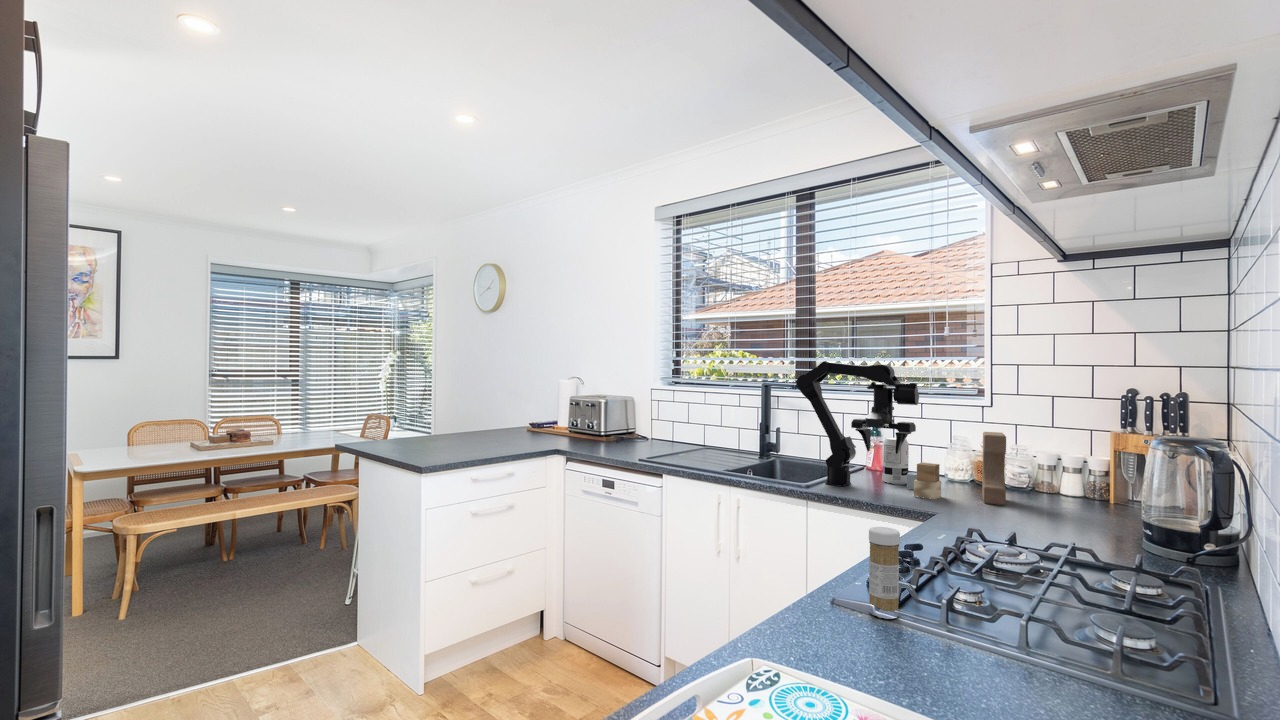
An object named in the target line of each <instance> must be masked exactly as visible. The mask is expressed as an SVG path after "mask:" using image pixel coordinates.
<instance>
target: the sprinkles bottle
mask: <svg viewBox="0 0 1280 720" xmlns="http://www.w3.org/2000/svg"><path fill="white" fill-rule="evenodd" d="M900 540H901V533H900V530H897V529H895V528H892V527H888V526H887V527H886V526H873V527H870V528H869V529H868V541H869V559H868V560H869V564H868V565H869V567H868V569H869V571H868V572H869V573H868V577H869V579H868V581H869V582H868V583H869V584H868V592H869V599H868V600H869V603H870V604H872V605H874V606H876V607H878V608H880V609H881V610H883V611H895V610H898V611H899V593H900V591H899V589H900V586H899V585H900V584H899V583H900V581H899V580H900V578H899V577H900V576H899V575H900V574H899V572H900V569H899V568H900V567H899V566H900V565H899V564H900V563H899V561H900V560H899V557H900V556H899V549H900V548H899V547H900V543H901V541H900Z"/></svg>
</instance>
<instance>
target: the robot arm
mask: <svg viewBox="0 0 1280 720" xmlns="http://www.w3.org/2000/svg"><path fill="white" fill-rule="evenodd" d="M830 374H834V375H836V374H837V375H842V376H852V377H853V376H854V377H861V378H864V379H867V380H870V381H872V382H871V383H870V384H868V386H867V387H866V389H867V390H873V406H872V407H871V411H870V413H868V414H867V415H866V416H865V418H853V419H852V420H851V425H850V426H851V429H855V431H856V432H858V433H859V434H860V436H861V437H862V440H863V442H864V445H865V446H864V447H865V449H866V451H868V452H870V451H871V437H872V432H871V431H872V430H871V429H872V428H874V429H890V430H897V432H894V433H895V438H896V454H898V453H899V451H900V449H901V446H902V444H903V442H904V440H905V439H907V437H908V435H911V434H912V433H914V432H916V429H917V426H916V424H915V422H914V421H913V422H910V421H899V422H895V420H894V419H893V414H894V413H893V411H894V410H895V407H894V406H893V405H894V404H893V403H894V402H896V403H897V404H898V405H908V406H918V405H919V400H920V393H919V388H918V383H917V382H916V383H901V381H900V380H899V379H898V377H897V376H896V375H895V370H894V368H893V367H892V366H891V365H889V364H871V365H869V364H867V365H857V364H849V363H839V362H831V361H824V360H823V361H821V362H820V363H819V364H818V365H817V366H816V367H814V368H812V369H811V370H810V371H807V373H805V374H800V376H798V377H797V380H796V387H797V388H798V390H799V392H800V393H802V396H804V397H805V398H806V399H807V400H808V401H809V402H810V404H811V406H812V408H813V410H814V412H815V414H816V417H817V418H818V420H819V422H820V423H821V426H822V427H823V430H824V432H825V433H826V436H827V437H828V440H829V441H828V442H829V447H830V451H831V455H830V456H829V457H828V458H826V459H825V464H826V466H827V468H826V469H827V472H826V475H827V476H826V481H825V482H824V484H826V485H831V486H839V487H844V486H845V487H846V486H849V485H851V484H852V482H851V470H850V466H849V465H850V463H851V461H852V460H854V459H855V457H856V454H857V451H856V448H857V446H856V445H855V444H854V442H853V440H852V438H851V436H845V435H844V434H843V433H842V431H841V429H840V428H839V426H838V423H837V422H836V420H835V418H834V416H833V414H832V413H831V410H830V408H829V406H828V404H827V402H826V400H825V399H824V397H823V392H822V387H821V382H823V381H824V380H825V378H827V377H828V375H830ZM877 383H880V384H877ZM882 383H883V384H882ZM887 386H889V387H887Z"/></svg>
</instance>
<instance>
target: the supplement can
mask: <svg viewBox="0 0 1280 720" xmlns="http://www.w3.org/2000/svg"><path fill="white" fill-rule="evenodd" d="M909 446H910V445H909V441H908V440H907V438H906V439H905V440H904V442H903V444H902V446H901V449H900V451H899V453H898V454H896V437H894V436H893V437H891V436H889V437H884V439H883V441H882V469H881V470H882V474H881V475H882V478H881V479H882V481H883V482H884V483H885V482H887V483H886V484H889V483H892V484H891V485H907V473H908V472H909Z"/></svg>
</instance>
